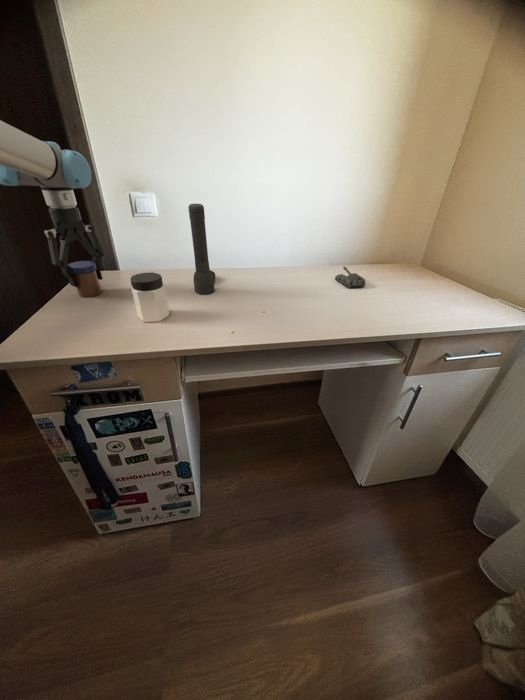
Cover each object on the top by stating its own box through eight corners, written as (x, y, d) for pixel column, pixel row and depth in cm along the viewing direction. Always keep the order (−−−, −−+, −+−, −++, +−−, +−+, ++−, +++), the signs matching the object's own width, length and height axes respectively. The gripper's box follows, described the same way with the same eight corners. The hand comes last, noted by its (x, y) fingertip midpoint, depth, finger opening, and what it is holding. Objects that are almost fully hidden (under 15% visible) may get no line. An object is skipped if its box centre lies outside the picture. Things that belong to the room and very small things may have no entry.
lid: (77, 275, 88) (75, 269, 87) (63, 270, 91) (62, 264, 90) (101, 269, 93) (100, 264, 92) (88, 264, 97) (87, 259, 96)
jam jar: (80, 299, 92) (70, 270, 87) (77, 292, 97) (67, 264, 92) (104, 294, 96) (96, 267, 91) (99, 288, 101) (92, 261, 96)
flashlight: (191, 293, 100) (210, 295, 99) (180, 206, 82) (202, 208, 82) (199, 285, 105) (217, 287, 104) (189, 201, 88) (210, 203, 87)
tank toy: (331, 279, 118) (333, 266, 115) (351, 277, 120) (354, 265, 117) (346, 289, 108) (349, 276, 105) (367, 288, 110) (371, 275, 108)
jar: (152, 307, 89) (144, 270, 82) (174, 312, 87) (168, 274, 80) (132, 319, 82) (122, 279, 75) (155, 325, 79) (147, 284, 73)
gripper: (28, 211, 73) (59, 294, 86) (104, 205, 88) (121, 276, 100) (15, 208, 76) (47, 288, 89) (90, 202, 91) (109, 272, 104)
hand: (87, 282), depth 95 cm, fingers closed on lid, 8 cm apart
